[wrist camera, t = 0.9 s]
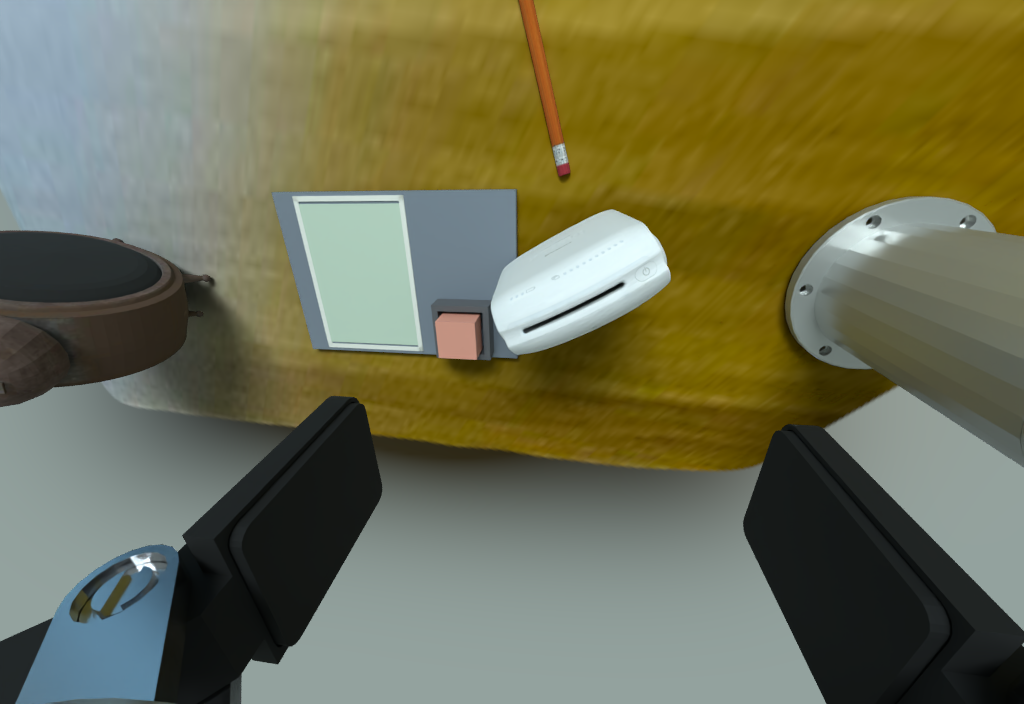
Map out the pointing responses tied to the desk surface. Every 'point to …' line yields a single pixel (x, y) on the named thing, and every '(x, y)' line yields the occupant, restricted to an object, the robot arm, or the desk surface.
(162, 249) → the desk surface
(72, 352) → the alarm clock
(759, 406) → the desk surface
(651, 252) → the photo printer
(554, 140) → the pencil
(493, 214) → the activity board
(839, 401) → the desk surface
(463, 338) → the button
